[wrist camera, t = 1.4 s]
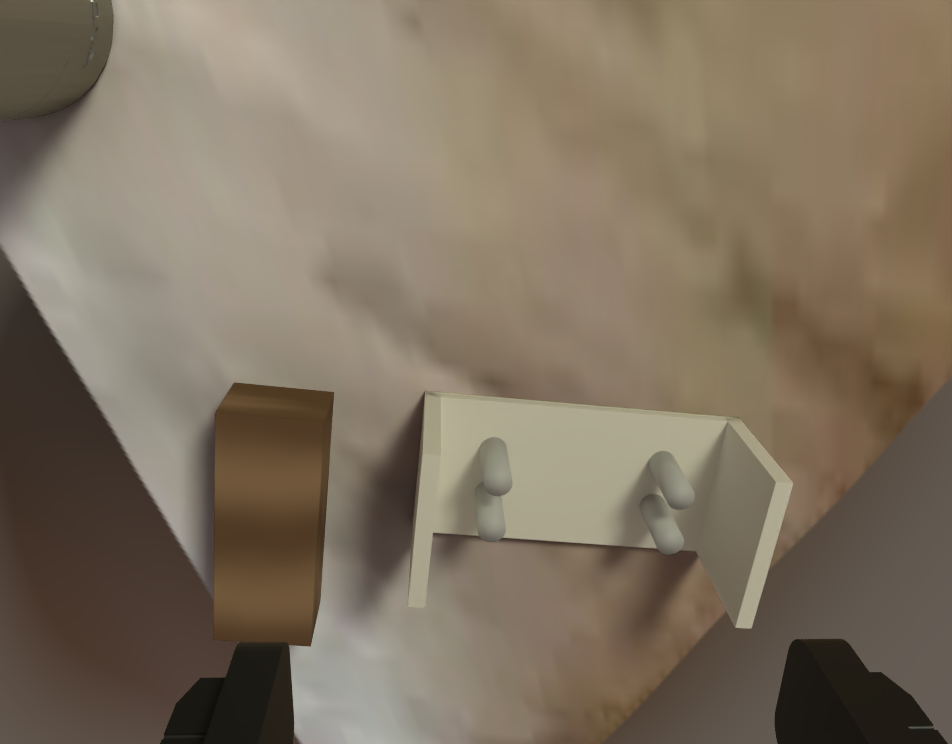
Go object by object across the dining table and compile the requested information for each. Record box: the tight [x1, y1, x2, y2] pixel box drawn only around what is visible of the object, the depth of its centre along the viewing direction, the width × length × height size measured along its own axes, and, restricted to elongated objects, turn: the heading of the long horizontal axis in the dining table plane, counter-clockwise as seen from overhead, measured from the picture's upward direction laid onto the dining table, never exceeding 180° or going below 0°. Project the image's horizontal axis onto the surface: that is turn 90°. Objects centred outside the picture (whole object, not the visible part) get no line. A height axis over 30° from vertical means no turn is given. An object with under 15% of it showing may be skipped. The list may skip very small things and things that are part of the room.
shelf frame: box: [408, 391, 793, 629], centre depth 40 cm, size 17×8×7 cm, turn 84°
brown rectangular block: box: [214, 383, 334, 646], centre depth 41 cm, size 13×5×4 cm, turn 173°
